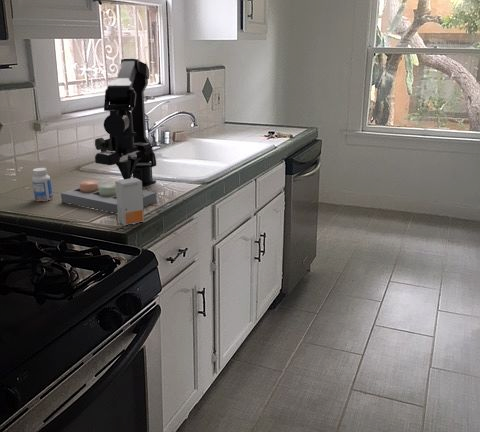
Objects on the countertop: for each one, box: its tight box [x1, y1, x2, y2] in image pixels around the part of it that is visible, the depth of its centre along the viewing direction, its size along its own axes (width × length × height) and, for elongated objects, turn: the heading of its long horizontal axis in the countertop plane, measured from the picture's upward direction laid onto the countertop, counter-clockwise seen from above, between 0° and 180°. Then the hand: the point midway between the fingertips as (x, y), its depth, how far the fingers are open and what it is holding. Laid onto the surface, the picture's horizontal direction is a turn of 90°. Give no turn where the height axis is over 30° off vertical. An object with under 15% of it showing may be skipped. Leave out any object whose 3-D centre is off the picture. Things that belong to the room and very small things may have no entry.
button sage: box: [98, 183, 116, 197], centre depth 163 cm, size 6×6×3 cm
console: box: [60, 181, 157, 214], centre depth 164 cm, size 15×25×3 cm, turn 59°
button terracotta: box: [79, 180, 99, 194], centre depth 167 cm, size 6×6×3 cm
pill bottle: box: [31, 167, 54, 202], centre depth 166 cm, size 6×5×10 cm
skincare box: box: [114, 177, 145, 226], centre depth 145 cm, size 6×4×12 cm
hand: (127, 181), depth 158 cm, fingers closed
